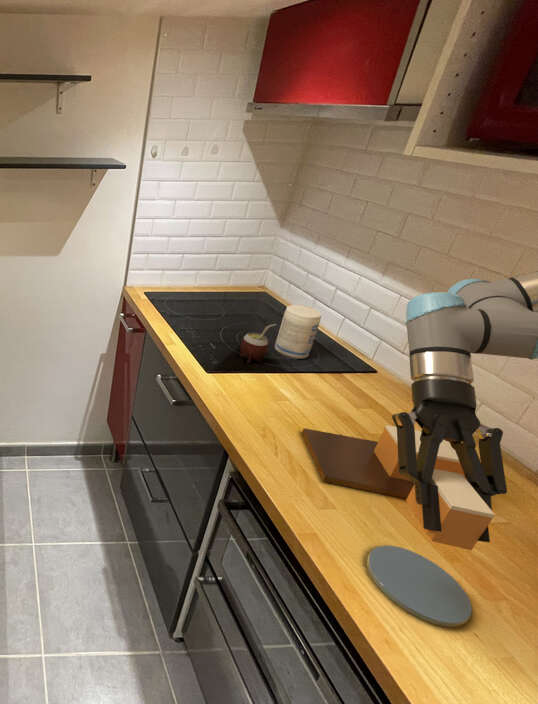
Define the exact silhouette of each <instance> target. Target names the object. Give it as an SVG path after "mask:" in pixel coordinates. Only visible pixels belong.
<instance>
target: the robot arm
mask: <svg viewBox="0 0 538 704" xmlns="http://www.w3.org/2000/svg"><path fill="white" fill-rule="evenodd" d="M405 314H406V315H405V317H406V319H405V326H406V334H407V343H408V352H409V369H410V370H409V371H410V379H411V381H413V382H412V383H411V385H410V387H411V402H412V403H413V407H412V409H411V412H406V411H402V412H398V413H394V414H392V415H391V418H392V421H393V423H394V426H395V427H396V428H397V445H398V469H399V474H400V475H402V476H406V477H408V478H409V479H410V481H411V482H412V483H414V484H415V496H416V497H415V498H416V502H417V504H420V505H422V511H423V525H424V529H427V530H433V531H440V532H442V528H441V518H440V506H439V494H438V486H437V485H432V484H429V483H430V482H431V480H432V476H433V471H434V467H435V463H436V459H437V454H438V450H439V446H440V443H441V442H442V441H443V440H445V441H448V442H450V444H451V447H452V448H453V449H454V450H455V451H456V454H457V456H458V459H459V462H460V464H461V467H462V469H463V472H464V474H465V477H466V480H467V481H468V482H469V484H470V485H471V486H472V487H473V488H474V490H475V491H476V492H477V493H478V495H479V496H480V497H481V498H482V499H483V501H484V502H485V503H486V504H487V505H488V507H489V508H490V509H491V510H492V511H493V506H492V505H493V504H492V497H494V496H497V495H505V494H507V493H508V488H507V481H506V474H505V468H504V460H503V454H502V448H501V442H502V439H503V435H504V432H503V430H502V429H501V428H499V427H493V428H492V427H489V426H487V425H485V424H483V423H481V421H480V419H479V418H478V416H477V414H476V409H477V397H476V389H475V386H474V385H472V384H473V383H474V381H475V377H474V370H473V363H472V354H476V355H477V354H479V355H490V356H498V357H499V356H500V357H508V358H517V359H519V358H521V359H527V360H532V361H533V360H538V270H536V271H533V272H528V273H524V274H520V275H516V276H511V277H508V278H507V277H506V278H502V279H499V280H493V281H489V280H485V279H481V278H467V279H462V280H459V281H458V282H456V283H455V284H453V285H452V286H451V287H449V289H448V290H447V291H445V292H443V291H442V292H441V291H440V292H439V291H435V292H427V293H423V294H422V293H421V294H419V295H416V296H414V297H413V298H411V299H410V300H409V301H408V302H407V304H406V311H405ZM415 424H417V425H418V427H420V429H421V431H422V432H421V436H420V441H421V444H420V448H419V452H418V456H417V460H416V444H415V430H416V428H415ZM475 432H476V435H475V437H476V438H477V439H478V451H479V454H478V453H477V450H476V448H477V443H476V442H475V439H474V436H473V434H475ZM424 529H423V530H424ZM490 538H491V537H490V531H489V525H488V526H487V528H486V529H485V531H484V532H483V534H482V535H481V537H480V538H479V540H478V541H477V542H483V543H488V544H489V543H491V539H490Z"/></svg>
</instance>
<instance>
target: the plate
mask: <svg viewBox="0 0 538 704" xmlns="http://www.w3.org/2000/svg"><path fill="white" fill-rule="evenodd" d="M366 566H367V570H368V573H369V575H370V577H371V578H372V580H373V582H374V583H375V584H376V586H377V587H378V588H379V589H380V590H381V592H383V593H384V595H385V596H387V597H388V598H389V600H391V601H392V602H394V603H395V604H396V605H397V606H399V607H400V608H401V609H403V610H404V611H406V612H408V614H411V615H413V616H414V617H416V618H418V619H421V620H423V621H425V622H427V623H431V624H433V625H437V626H441V627H448V628H454V627H460V626H463V625H465V624H466V623H467V622H468V621H469V619H470V618H471V616H472V612H473V607H472V604H471V603H472V602H471V600H470V598H469V596H468V594H467V593H466V591H465V590H464V589H463V587H462V586H461V585H460V584H459V582H458V581H457V580H456V579H455V578H454V577H453V576H452V575H450V573H448V572H447V571H446V570H444V569H443V568H442V567H441V566H440V565H438V564H437V563H435V562H434V561H432V560H430V559H428V558H427V557H425V556H423V555H422V554H419V553H417V552H415V551H412V550H410V549H407V548H404V547H400V546H395V545H379V546H376V547H374V548H373V549H372V550H371V551H370V553H369V554H368V556H367V559H366Z"/></svg>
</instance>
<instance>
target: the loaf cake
mask: <svg viewBox="0 0 538 704" xmlns="http://www.w3.org/2000/svg"><path fill="white" fill-rule="evenodd" d="M421 432H422V430H417V429H415V444H416V460H417V456H418V452H419V448H420V444H421V441H420V436H421ZM377 442H378V443H377V445H376V448H375V450H374V452H375V454H376V456H377V457H378V459H379V460H380V462H381V464H382V465H383V467H384V468H385V470H386V471H387V473H388V475H389V476H390V477H392V478H397V479H402V480H407V481H410V479H409V478H408V477H406V476H402V475H400V474H399V469H398V445H397V428H396V425H388V424H385V427H384V428H383V431H382V432H381V434H380V437H379V439H378V441H377ZM434 469H438V470H443V471H448V472H453V473H458V474H462V475H463V476H464V477H465V474H464V472H463V469H462V467H461V464H460V462H459V459H458V456H457V454H456V451H455V450H454V449H453V448H452V447H451V444H450V442H448V441H445V440H443V441H442V442H441V443H440V446H439V450H438V454H437V459H436V463H435V467H434ZM465 479H466V477H465Z"/></svg>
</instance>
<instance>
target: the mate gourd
mask: <svg viewBox="0 0 538 704" xmlns="http://www.w3.org/2000/svg"><path fill="white" fill-rule="evenodd" d="M277 325H278V324H277V323H274V324H269V325H267V326H265V328H264V330H263V331H262V333H259V332H247V333H246V334H245V336H243V339H242V340H241V344H240V354H239V356H240V357H242V358H245V359H247V361H246V363H247V364H251V362H252V361H255V362H258V363H262V362H263V359H264V357H265V356H266V354H267V351H268V348H269V341H268V338H267V336H265V333H267V331H268V330H269V329H270V328H272V327H275V326H277Z"/></svg>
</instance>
